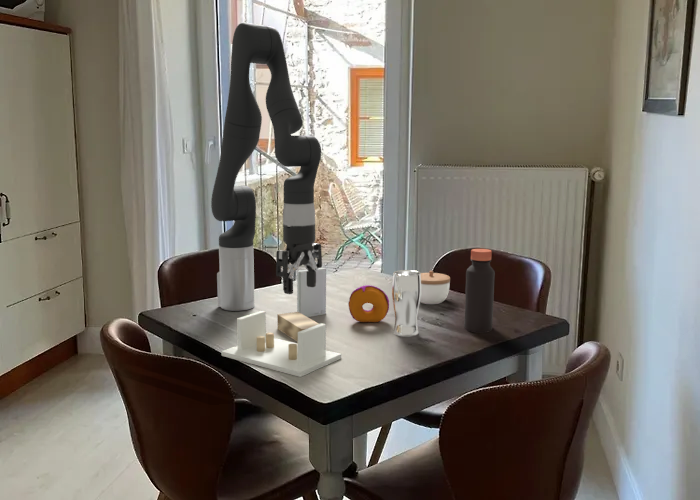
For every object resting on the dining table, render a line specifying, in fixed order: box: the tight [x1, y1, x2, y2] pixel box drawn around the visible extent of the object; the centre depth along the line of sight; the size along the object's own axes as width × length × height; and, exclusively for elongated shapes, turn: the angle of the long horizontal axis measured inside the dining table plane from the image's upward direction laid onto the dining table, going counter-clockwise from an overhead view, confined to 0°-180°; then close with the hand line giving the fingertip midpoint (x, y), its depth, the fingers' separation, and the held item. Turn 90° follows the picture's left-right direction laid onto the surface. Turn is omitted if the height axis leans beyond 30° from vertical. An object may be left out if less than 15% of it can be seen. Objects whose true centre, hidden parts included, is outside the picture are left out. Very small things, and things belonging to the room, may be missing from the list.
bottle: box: [463, 248, 496, 334], centre depth 171 cm, size 7×7×20 cm
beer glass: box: [391, 269, 422, 338], centre depth 169 cm, size 7×7×15 cm
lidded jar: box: [420, 270, 451, 305], centre depth 198 cm, size 11×11×9 cm
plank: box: [277, 311, 319, 342], centre depth 168 cm, size 14×6×4 cm, turn 29°
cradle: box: [221, 310, 342, 378], centre depth 152 cm, size 22×14×8 cm, turn 55°
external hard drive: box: [296, 267, 327, 318], centre depth 184 cm, size 2×8×12 cm, turn 123°
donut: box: [348, 284, 390, 323], centre depth 178 cm, size 8×9×10 cm
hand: (300, 290), depth 166 cm, fingers open, 8 cm apart
